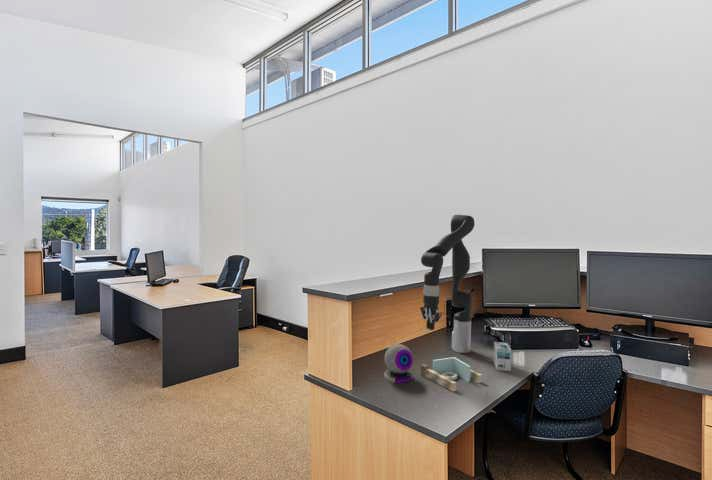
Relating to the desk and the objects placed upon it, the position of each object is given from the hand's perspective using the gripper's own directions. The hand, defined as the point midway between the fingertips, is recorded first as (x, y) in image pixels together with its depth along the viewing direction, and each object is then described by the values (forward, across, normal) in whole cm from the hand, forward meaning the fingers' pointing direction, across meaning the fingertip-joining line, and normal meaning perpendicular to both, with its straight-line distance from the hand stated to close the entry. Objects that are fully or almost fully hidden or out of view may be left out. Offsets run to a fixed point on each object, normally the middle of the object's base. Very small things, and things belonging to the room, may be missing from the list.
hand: (430, 329), depth 181 cm
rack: (+19, +14, 0) cm, 24 cm away
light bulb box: (+19, +17, +32) cm, 41 cm away
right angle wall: (+20, +14, 0) cm, 24 cm away
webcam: (+19, +1, -20) cm, 28 cm away
